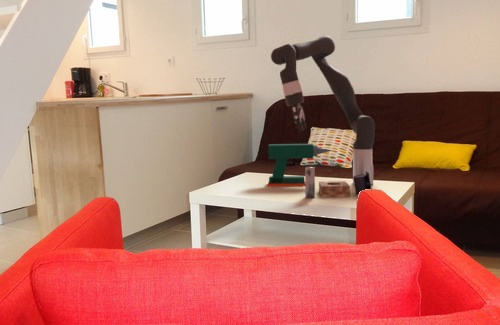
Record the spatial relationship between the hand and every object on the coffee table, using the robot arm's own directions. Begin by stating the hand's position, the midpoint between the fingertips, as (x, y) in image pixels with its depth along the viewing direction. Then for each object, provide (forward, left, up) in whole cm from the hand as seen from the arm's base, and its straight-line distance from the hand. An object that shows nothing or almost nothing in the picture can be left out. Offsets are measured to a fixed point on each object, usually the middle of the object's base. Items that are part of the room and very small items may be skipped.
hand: (302, 130), depth 196 cm
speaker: (-26, -4, -29) cm, 39 cm away
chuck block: (-14, -7, -29) cm, 33 cm away
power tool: (-1, -30, -29) cm, 42 cm away
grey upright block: (-3, 0, -29) cm, 29 cm away
